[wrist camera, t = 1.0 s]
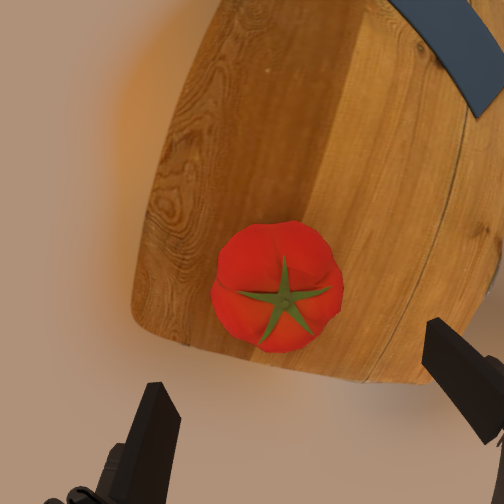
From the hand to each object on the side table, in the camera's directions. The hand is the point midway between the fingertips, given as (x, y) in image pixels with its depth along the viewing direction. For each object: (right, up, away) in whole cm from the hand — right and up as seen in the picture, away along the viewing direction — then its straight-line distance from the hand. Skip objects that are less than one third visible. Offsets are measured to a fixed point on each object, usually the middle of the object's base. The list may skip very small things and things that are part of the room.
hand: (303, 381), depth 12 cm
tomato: (0, +4, +15) cm, 15 cm away
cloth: (+23, +34, +7) cm, 42 cm away
